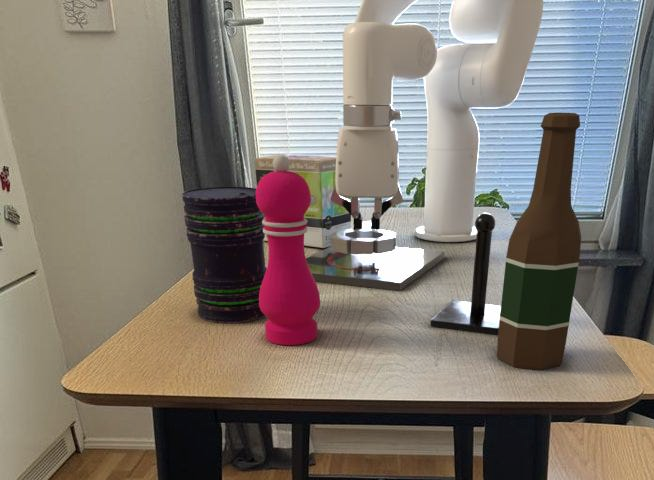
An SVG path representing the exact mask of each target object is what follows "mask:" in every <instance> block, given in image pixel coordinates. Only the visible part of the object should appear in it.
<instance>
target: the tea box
mask: <svg viewBox="0 0 654 480" xmlns="http://www.w3.org/2000/svg"><path fill="white" fill-rule="evenodd" d="M277 155H278V154H275V155H267V156H261V157H255V158H254V169H255V181H256V182H255V183H256V186H257V185H258V183H259V181H260V180H261V179H262V178H263V177H264V176H265V175H267V174H268V173H271V172H274V171H276V170H275V169H274V167H273V160H274V158H275V157H276V156H277ZM283 155H284V156H286V157H287V158H288V160H289V163H290V166H289V169H288V170H287V171H291V172H294V173H297V174H299V175H300V176H301V177H303V178H304V179H305V181H306V182H307V184H308V186H309V189H310V194H311V202H310V206H309V208H308V210H307V211H306V212H305V214H304V218H306V219H307V223H306V225H307V229H308V231H307V232H306V233H304V247H313V248H321V249H327V248H329V247H331V236H332V234H333V232H336V231H341V230H347V229H352V215H351V214H350V213H349V212H348V211H347V210H346V209H345V208H344V207H343V206H340V205H337V204H335V203H333V202H331V196H332V193H333V190H334V187H335V184H336V183H335V175H336V155H319V154H293V153H287V154H283ZM344 198H346V199H349V200H350V201H351V198H347V197H344ZM264 219H266V218H265V216H264ZM264 241H265V242H268V239H267V235H266V234H265V238H264V239H263V242H264Z"/></svg>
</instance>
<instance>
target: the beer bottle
mask: <svg viewBox="0 0 654 480" xmlns="http://www.w3.org/2000/svg"><path fill="white" fill-rule="evenodd" d="M540 127H541V128H542V130H543V131H542V137H541V142H540V148H539V154H538V159H537V166H536V171H535V177H534V183H533V189H532V192H531V196H530V199H529V202H528V206H527V207H526V208H525V210H524V211H523V213H522V214H521V215H520V217H519V218H518V219H517V221H516V223H515V226H514V228H513V230H512V233H511V234H510V237H509V240H508V245H507V251H506V256H505V265H504V273H503V275H504V276H503V282H502V283H503V284H502V293H501V294H502V295H501V304H500V306H501V312H500V322H499V331H498V335H497V345H496V357H497V360H499V361H501V362H503V363H504V364H506V365H508V366H511V367H512V368H517V369H518V368H519V369H527V370H528V369H529V370H535V371H538V370H539V371H542V370H545V369H550V368H554V367H555V368H556V367H558V366H561V365H562V363H563V360H564V359H563V358H564V356H565V355H564V354H565V350H566V345H567V340H568V334H569V333H568V332H569V327H570V326H569V325H570V320H571V313H572V307H573V300H574V294H575V288H576V282H577V276H578V270H579V265H580V264H579V263H580V257H581V245H582V233H581V227H580V222H579V219H578V217H577V214H576V213H575V210H574V208H573V206H572V181H573V169H574V159H575V149H576V148H575V147H576V137H577V130H578V129H579V128H580V127H581V119H580V114H578V113H577V112H548V113H546V114H545V115H544V116H543V118H542V121H541V124H540Z"/></svg>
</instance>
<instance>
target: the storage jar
mask: <svg viewBox="0 0 654 480" xmlns="http://www.w3.org/2000/svg"><path fill="white" fill-rule="evenodd" d="M256 188H257V187H256ZM256 188H255V187H248V186H211V187H201V188H194V189H188V190H186V191H183V192H182V193H181V198H182V202H183V204H184V205H183V212H184V214H185V215H184V216H183V217H184V224H185V227H186V237H187V241H188V243H189V244H190V250H191V257H192V265H193V271H192V282H193V293H194V296H195V298H196V299H195V303H196V304H197V306H198V308H197V315H198V317H199V318H200V319H201V320H204V321H207V322H211V323H217V324H218V323H219V324H238V323H248V322H253V321H257V320H259V319H262V318H265V317H266V316H265V315H264V314H263V312H262V311H261V309H260V307H259V293H260V287H261V284H262V281H263V278H264V276H265V273H266V269H267V266H266V259H265V244H264V240H263V239H264V238H265V233H263V229H264V227H263V226H264V225H263V224H262V221H263V220H264V214H263V213H262V212H261V211H260V209H259V208H258V206H257V204H256Z"/></svg>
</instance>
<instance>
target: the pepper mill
mask: <svg viewBox="0 0 654 480" xmlns="http://www.w3.org/2000/svg"><path fill="white" fill-rule="evenodd" d="M276 155H277V156H276V157H275V158H274V160H273V167H274V169H275V170H276V171H274V172H271V173H268V174H267V175H265V176H264V177H263V178H262V179H261V180H260V181H259V183H258V185H257V184H256V204H257V206H258V208H259V209H260V211H261V212H262V213H263V214H264V216H265V218H266V219H264V220H263V221H262V224H263V225H264V226H263V227H264V229H263V233H265V234H266V235H267V239H268V241H267V244H268V260H267V265H266V268H267V269H266V273H265V276H264V278H263V281H262V284H261V287H260V293H259V307H260V309H261V311H262V312H263V314H264V315H265V316H264V317H266V318H267V319H268V320H267V321H265V322H264V323H265V324H264V328H265V329H264V331H265V338H266V340H267V341H268V342H270V343H272V344H274V345H280V346H297V345H298V346H299V345H305V344H308V343H311V342H313V341H315V340H316V339H317V337H318V321H317V320H316V319H314V318H313V317H314V316H315V315H316V314H317V312H318V311H319V309H320V306H321V298H320V291H319V287H318V284H317V282H316V281H315V280H314V278H313V276H312V273H311V271H310V269H309V266H308V264H307V261H306V258H307V257H306V252H305V246H304V233H306V232H307V231H308V229H307V225H306V223H307V219H306V218H304V214H305V212H306V211H307V210H308V208H309V206H310V202H311V194H310V189H309V186H308V184H307V182H306V181H305V179H304V178H303V177H301V176H300V175H299V174H297V173H294V172H291V171H287V170H288V169H289V166H290V163H289V160H288V158H287V157H286V156H284V154H276Z"/></svg>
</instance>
